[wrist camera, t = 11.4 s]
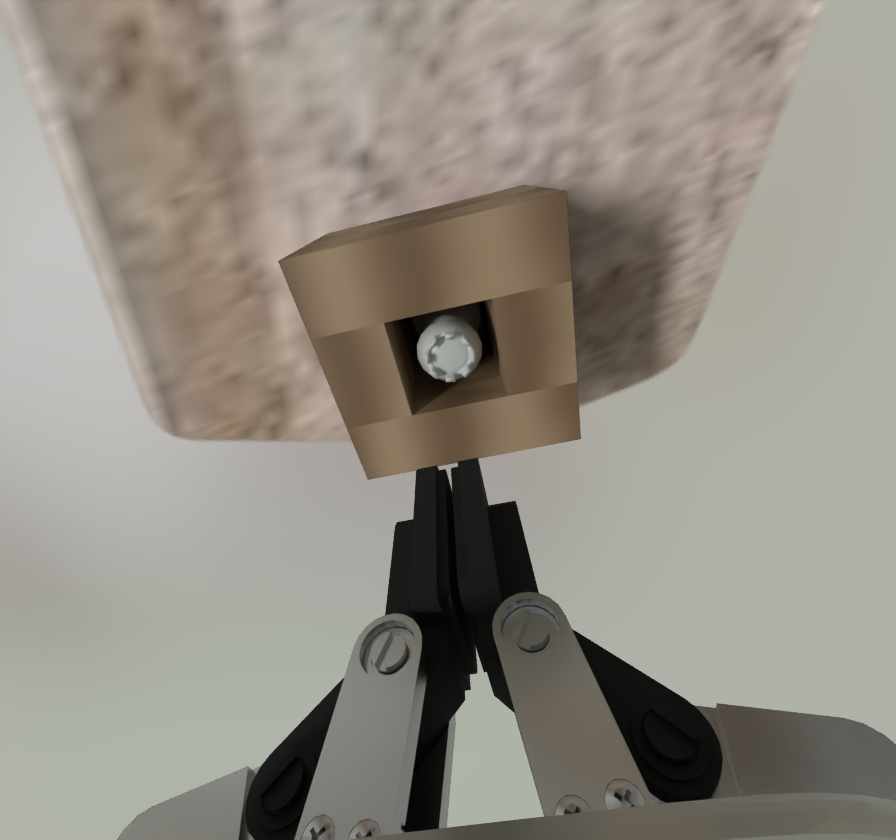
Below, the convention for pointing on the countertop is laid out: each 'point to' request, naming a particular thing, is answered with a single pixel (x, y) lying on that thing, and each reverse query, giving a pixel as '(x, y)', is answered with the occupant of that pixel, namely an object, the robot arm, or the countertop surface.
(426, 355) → the rook chess piece
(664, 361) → the countertop surface
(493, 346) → the socket block
